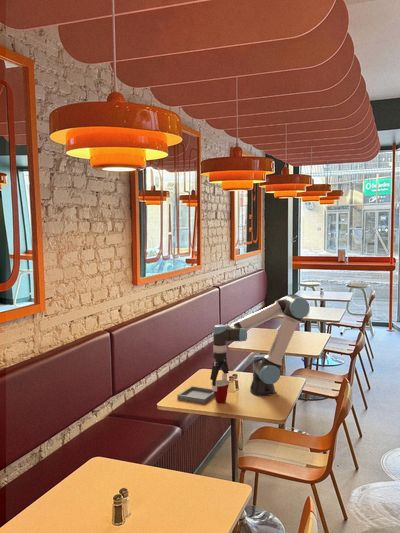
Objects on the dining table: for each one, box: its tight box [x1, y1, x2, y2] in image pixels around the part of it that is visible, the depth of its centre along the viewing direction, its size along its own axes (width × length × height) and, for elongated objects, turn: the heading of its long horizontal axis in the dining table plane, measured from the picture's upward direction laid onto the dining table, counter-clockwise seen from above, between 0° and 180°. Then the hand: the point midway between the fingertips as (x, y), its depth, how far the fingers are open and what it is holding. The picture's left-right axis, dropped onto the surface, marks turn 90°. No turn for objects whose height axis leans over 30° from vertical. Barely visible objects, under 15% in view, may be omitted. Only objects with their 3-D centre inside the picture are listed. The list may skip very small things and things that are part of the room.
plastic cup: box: [210, 379, 230, 405], centre depth 287 cm, size 11×11×12 cm
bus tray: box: [177, 385, 215, 405], centre depth 297 cm, size 18×18×3 cm
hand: (219, 387), depth 287 cm, fingers open, 13 cm apart
